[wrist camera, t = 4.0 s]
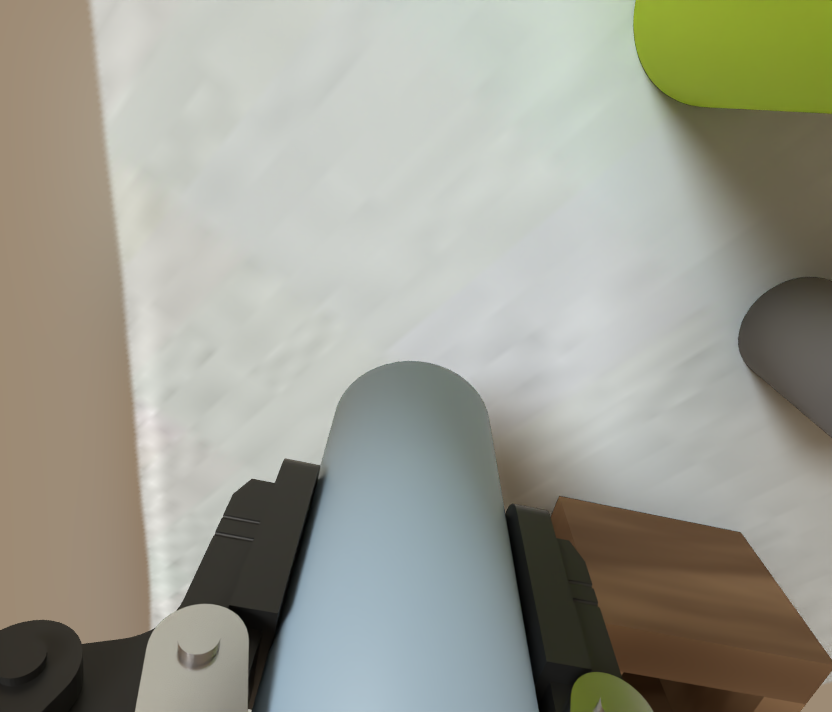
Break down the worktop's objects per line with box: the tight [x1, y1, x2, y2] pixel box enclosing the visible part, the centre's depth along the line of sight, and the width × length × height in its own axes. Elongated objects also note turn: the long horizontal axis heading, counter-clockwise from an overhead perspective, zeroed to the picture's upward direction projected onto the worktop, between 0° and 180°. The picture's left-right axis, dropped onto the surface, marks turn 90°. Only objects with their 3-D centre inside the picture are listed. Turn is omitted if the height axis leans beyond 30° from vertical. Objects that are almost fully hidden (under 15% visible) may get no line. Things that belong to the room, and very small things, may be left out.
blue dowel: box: [252, 361, 539, 712], centre depth 10 cm, size 4×4×10 cm
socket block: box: [551, 496, 832, 712], centre depth 26 cm, size 10×9×7 cm
